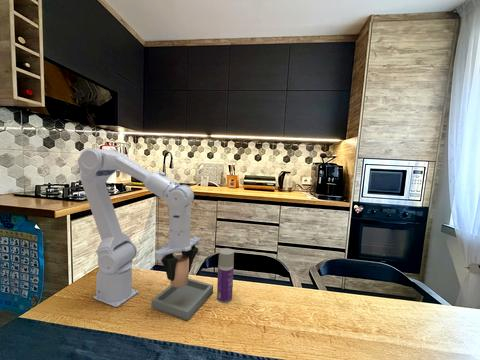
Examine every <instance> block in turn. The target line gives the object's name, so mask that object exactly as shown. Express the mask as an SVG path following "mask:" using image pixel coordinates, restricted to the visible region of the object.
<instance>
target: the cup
mask: <svg viewBox="0 0 480 360" xmlns="http://www.w3.org/2000/svg"><path fill="white" fill-rule="evenodd" d="M174 257H175V258H177V259H178V260H177V263H176V267H175V278H174V280H173V281H171V280H169V284H170V285H171V286H173V287H183V286H185V285H187V284H188V278H190V276H189V275H190V274H189V273H190V272H189V257H188V256H186V255H182V254H177V255H176V254H175V255H174Z"/></svg>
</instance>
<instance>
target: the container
mask: <svg viewBox="0 0 480 360" xmlns="http://www.w3.org/2000/svg"><path fill="white" fill-rule="evenodd" d="M234 257H235V251H234V249H232V248H227V247H225V248H221V249H220V250H219V252H218V262H217V263H218V265H217V285H216V287H217V289H216V294H217V295H216V300H217V301H218V302H220V303H222V304H228V303H230V302H232V300H233V286H234V285H233V284H234V283H233V282H234V268H235V267H234V264H235V263H234V261H235V258H234Z"/></svg>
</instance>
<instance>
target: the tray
mask: <svg viewBox="0 0 480 360" xmlns="http://www.w3.org/2000/svg"><path fill="white" fill-rule="evenodd" d="M213 293H214V284H211V283H207V282H203V281H200V280H196V279H193V278H190V277H188V284H187V285H185V286H183V287H173V286H171V284H170V285H168V287H166V288H165V289H164V290H162V291H161V292H160V293H158V294H157V295H156V296H155V297H153V298H152V299H151V301H150V302H151V305H150V306H151V307H150V308H151V309H152V310H155V311H157V312H161V313H163V314H166V315H168V316H171V317H174V318H176V319H180V320H183V321H185V322H189V321H190V319H191V318H192V317H193V316H194V315H195V314H196V313H197V312H198V310H199V309H200V308H201V307H202V305H204V303H206V301H208V299H209V298H210V296H212V294H213Z"/></svg>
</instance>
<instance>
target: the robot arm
mask: <svg viewBox="0 0 480 360" xmlns="http://www.w3.org/2000/svg"><path fill="white" fill-rule="evenodd" d="M77 165H78V167H79V170H80V172H81V174H80V176H81V185H82V188H83V191H84V194H85V196H86V199H87V202H88V204H89V208H90V211H91V213H92V216H93V220H94V222H95V225H96V229H97V231H98V234H99V236H100V240H101V242H100V243H99V245H98V246H97V249H96V255H97V266H98V268H99V269H98V271H97V273H96V275H95V276H96V277H95V278H96V280H95V283H96V284H95V285H96V287H95V290H96V291H95V292H96V293H95V294H96V295H94V296H93V299H94V300H96V301H99V302H101V303H105V304H107V305H108V306H109V305H110V306H112V307H114V308H118V307H120V306H121V305H123V304H124V303H125V302H127V301H128V300H130V299H131V298H133V297H134V296H136V295H137V294H138V293H139V290H137V289H135V288H132V287H133V278H132V277H133V263H134V262H133V261H134V259H135V258H136V256H137V253H138V249H137V246H136V245H135V244H134V243H133V241H132V240H131V237H130V236H129V235H128V234H125V233H124V232H123V231H122V228H121V225H120V222H119V219H118V217H117V214H116V211H115V207H114V205H113V203H112V202H113V201H112V199H111V197H110V193H109V190H108V187H107V181H108V180H109V178H110V177H112V175H114V174H115V173H116V172H117V171H120V172H123V173H124V174H126V175H128V176H130V177H132V178H134V179H136V180H138V181H140V182H142V183H143V184H144V188H145V190H147V191H149V192H151V193H152V194H154V195H155V196H157V197H159V198H161V199H162V200H164V201H165V202H166V205H167V206H168V208H169V215H168V216H169V217H168V219H169V224H168V225H169V226H168V243H167V244H166V245H164V246H162V247H161V248H159V249H157V250H155V251H154V259H155V260H157V261H160V262H161V264H162V265H163V268H164V271H165V273H166V279H167V280H169V281H170V280H171V281H173V280H174V278H175V267H176V263H177V260H178V259H177V258H175V257H174V256H175V255H174V254H176V253H179V252H181V255H186V256H188V257H189V273H191V272H190V271H191V269H192V265H193V262H194V260H195V258H196V255H197V254H198V253H199V248H198V247H196V246H199V245H201V241H202V239H201V238H200V237H197V236H195V237H191V224H192V223H191V218H192V216H191V214H192V213H191V212H192V211H191V210H192V208H191V207H192V204H191V203H192V202H193V201H194V198H195V192H194V190H193V189H192V188H191V187H190V186H189V185H188V184H180V181H178V180H177V181H175V180H173V179H172V178H169V177H167V176H166V175H167V173H165V172H163V171H154V172H151V171H149V170H148V169H146V168H145V167H143V166H141V165H140V164H139V163H137V162H136V161H135V160H133V159H131V158H130V157H128V156H127V155H125V153H122V152H119V151H118V150H116V149H99V148H92V147H88V148H85V149H84V150H83V151H81V153H80V155H79V156H78V159H77Z"/></svg>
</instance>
